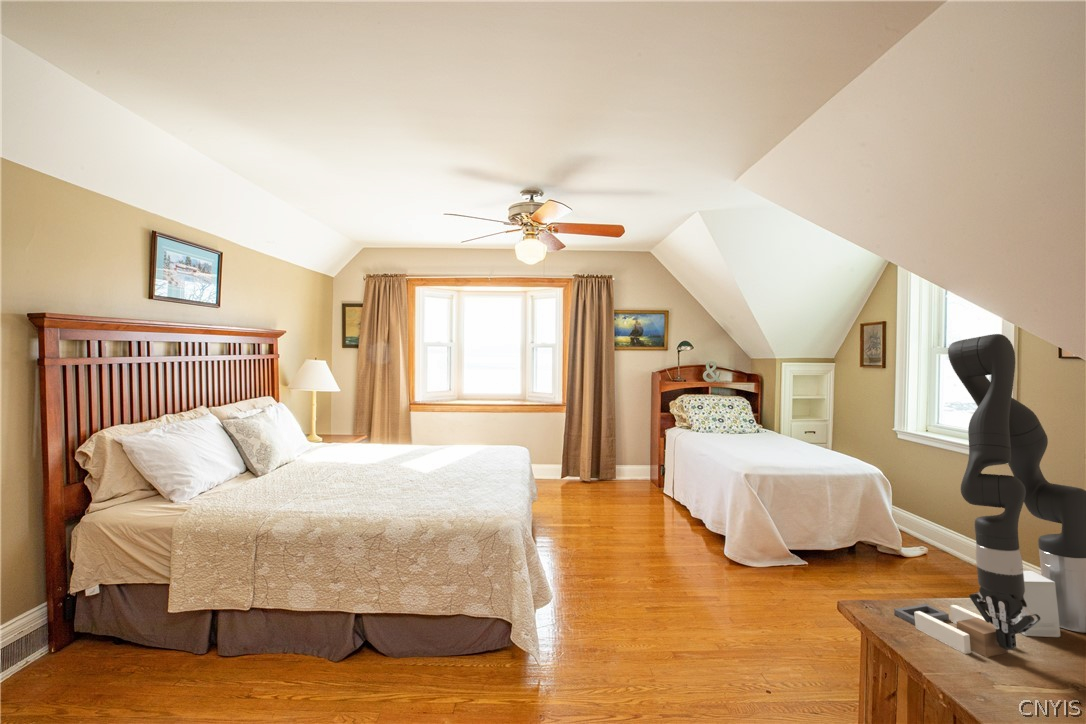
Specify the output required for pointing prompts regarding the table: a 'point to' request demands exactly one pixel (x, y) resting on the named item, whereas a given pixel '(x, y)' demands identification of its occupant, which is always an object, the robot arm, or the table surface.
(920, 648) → the table surface
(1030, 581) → the supplement box
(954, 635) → the white guide rails
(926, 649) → the table surface
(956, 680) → the table surface
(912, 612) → the frame
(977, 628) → the walnut block
